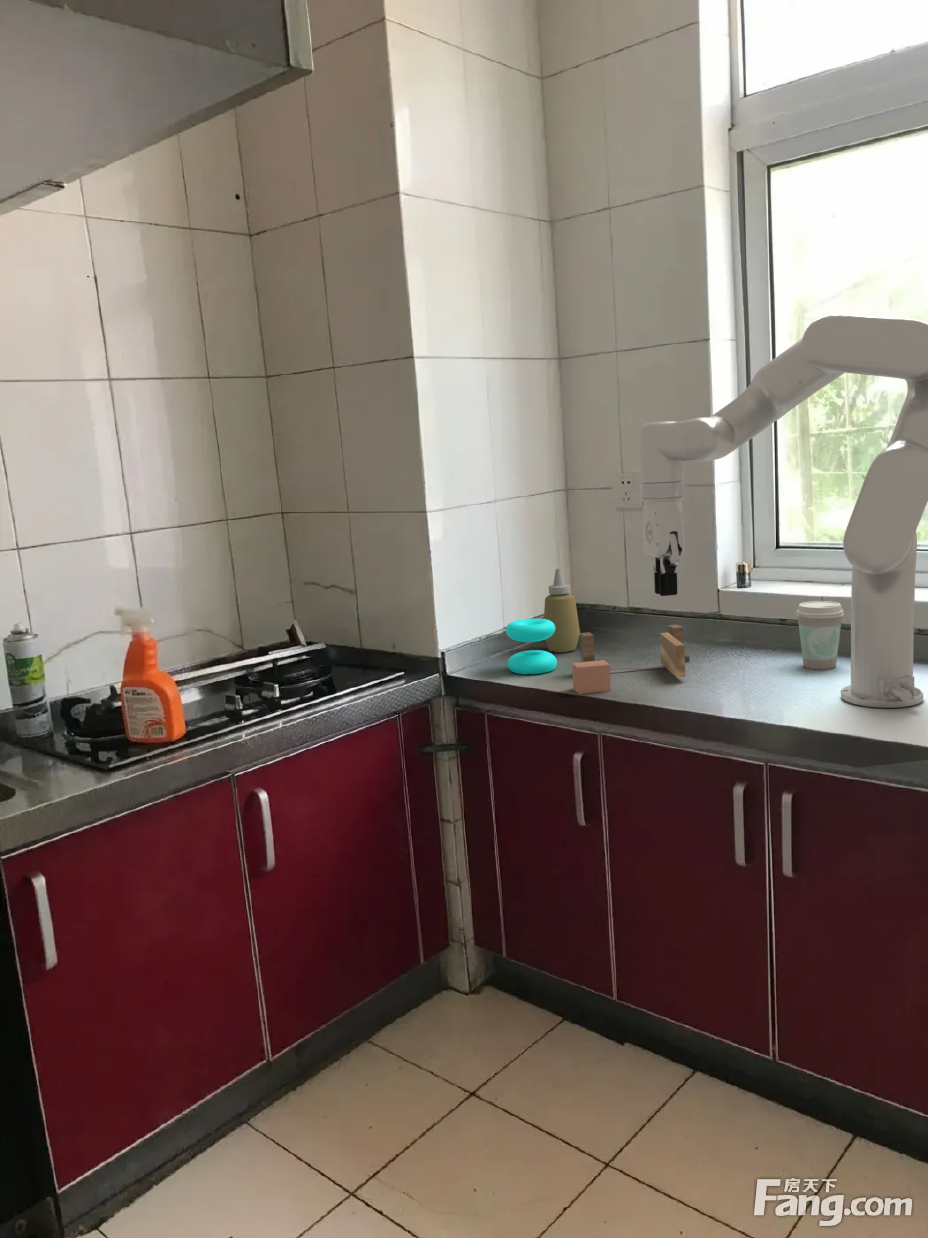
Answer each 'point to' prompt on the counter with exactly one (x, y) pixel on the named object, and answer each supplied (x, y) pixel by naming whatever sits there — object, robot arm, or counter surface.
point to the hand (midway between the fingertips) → (666, 593)
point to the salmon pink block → (591, 677)
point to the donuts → (533, 658)
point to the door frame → (588, 655)
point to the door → (673, 654)
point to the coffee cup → (819, 633)
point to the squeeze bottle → (561, 616)
